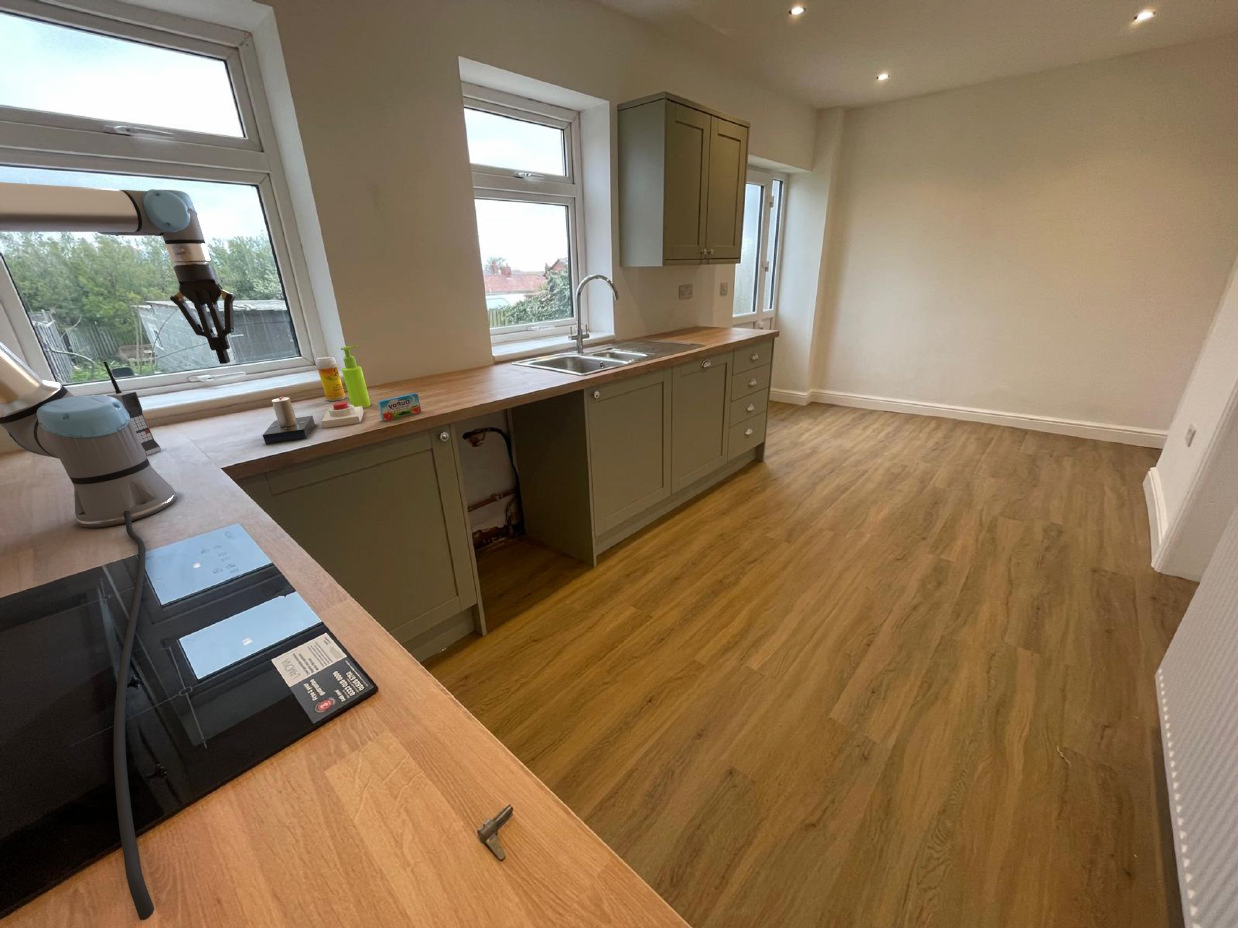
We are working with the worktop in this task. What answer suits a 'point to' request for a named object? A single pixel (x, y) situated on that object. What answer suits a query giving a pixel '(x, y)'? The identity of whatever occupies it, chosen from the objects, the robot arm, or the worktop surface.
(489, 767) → the worktop surface
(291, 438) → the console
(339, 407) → the power button
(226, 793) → the worktop surface
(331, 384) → the yellow bottle
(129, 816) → the robot arm
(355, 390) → the soap dispenser
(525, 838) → the worktop surface
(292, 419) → the beige upright cylinder
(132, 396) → the vintage mobile phone
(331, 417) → the switch block
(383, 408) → the yogurt
